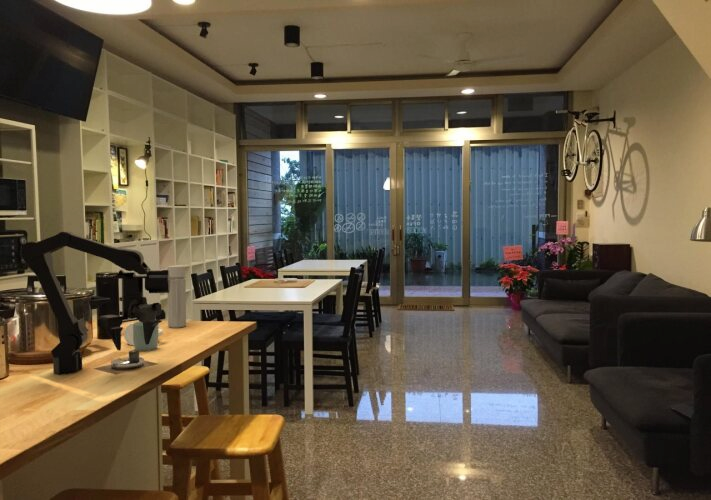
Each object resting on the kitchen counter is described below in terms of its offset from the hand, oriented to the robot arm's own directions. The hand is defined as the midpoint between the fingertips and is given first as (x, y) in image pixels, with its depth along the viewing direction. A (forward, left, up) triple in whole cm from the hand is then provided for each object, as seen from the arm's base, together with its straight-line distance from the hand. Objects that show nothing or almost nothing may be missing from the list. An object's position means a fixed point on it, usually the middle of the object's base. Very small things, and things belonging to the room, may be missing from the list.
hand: (133, 347), depth 162 cm
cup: (+17, +18, -8) cm, 26 cm away
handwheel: (0, +3, -6) cm, 7 cm away
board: (0, +4, -7) cm, 8 cm away
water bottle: (+51, +45, -8) cm, 69 cm away
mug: (+26, +30, -8) cm, 41 cm away
